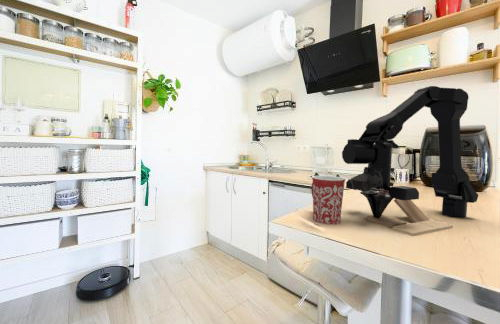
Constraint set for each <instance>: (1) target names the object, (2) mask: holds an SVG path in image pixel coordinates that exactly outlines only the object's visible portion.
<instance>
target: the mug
mask: <svg viewBox="0 0 500 324" xmlns="http://www.w3.org/2000/svg"><path fill="white" fill-rule="evenodd" d="M311 178H312V183H311V197H312V215H313V216H312V219H313V221H315V222H316V223H319V224H323V225H337V224H340V223H341V217H342V216H341V215H342V208H343V198H344V190H345V182H346V178H345V177H342V176H341V177H340V176H334V175H313V176H311ZM316 223H314V224H315V225H316V226H319V227H320V225H319V224H316Z"/></svg>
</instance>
